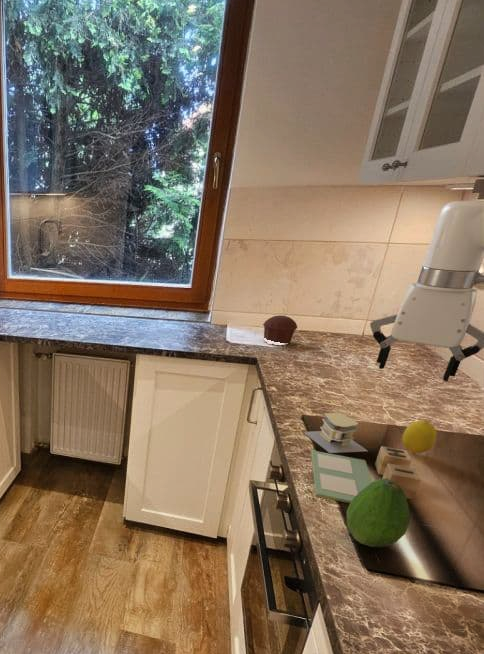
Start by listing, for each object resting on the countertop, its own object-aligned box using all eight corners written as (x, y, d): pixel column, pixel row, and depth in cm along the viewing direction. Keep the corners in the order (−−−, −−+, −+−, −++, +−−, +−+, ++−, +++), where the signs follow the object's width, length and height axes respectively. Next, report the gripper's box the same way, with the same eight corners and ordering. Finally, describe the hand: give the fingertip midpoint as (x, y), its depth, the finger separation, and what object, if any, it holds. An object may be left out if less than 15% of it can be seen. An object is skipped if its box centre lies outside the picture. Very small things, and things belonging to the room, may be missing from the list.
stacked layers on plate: (302, 432, 112) (308, 411, 110) (338, 430, 113) (344, 409, 110) (329, 453, 103) (336, 430, 101) (368, 451, 103) (375, 429, 101)
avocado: (343, 550, 75) (365, 487, 70) (336, 522, 81) (356, 462, 76) (403, 565, 72) (430, 500, 67) (391, 534, 78) (415, 473, 73)
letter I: (407, 487, 91) (415, 467, 89) (412, 499, 87) (421, 479, 85) (380, 482, 93) (387, 462, 91) (384, 493, 89) (392, 473, 87)
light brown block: (400, 469, 97) (407, 449, 95) (404, 479, 93) (412, 459, 91) (374, 464, 99) (381, 445, 97) (378, 474, 95) (385, 455, 93)
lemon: (435, 458, 101) (449, 425, 97) (413, 461, 100) (426, 427, 96) (412, 446, 105) (424, 414, 102) (391, 448, 105) (402, 416, 101)
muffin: (283, 338, 184) (289, 312, 179) (299, 346, 174) (306, 320, 169) (254, 338, 183) (259, 313, 179) (268, 347, 173) (274, 320, 169)
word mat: (364, 462, 99) (365, 459, 99) (378, 509, 84) (379, 506, 84) (311, 452, 103) (311, 449, 103) (315, 495, 88) (316, 492, 88)
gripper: (513, 282, 78) (473, 378, 85) (388, 271, 88) (361, 358, 96) (515, 288, 73) (472, 390, 80) (382, 276, 83) (354, 367, 90)
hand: (412, 372), depth 88 cm, fingers open, 9 cm apart
